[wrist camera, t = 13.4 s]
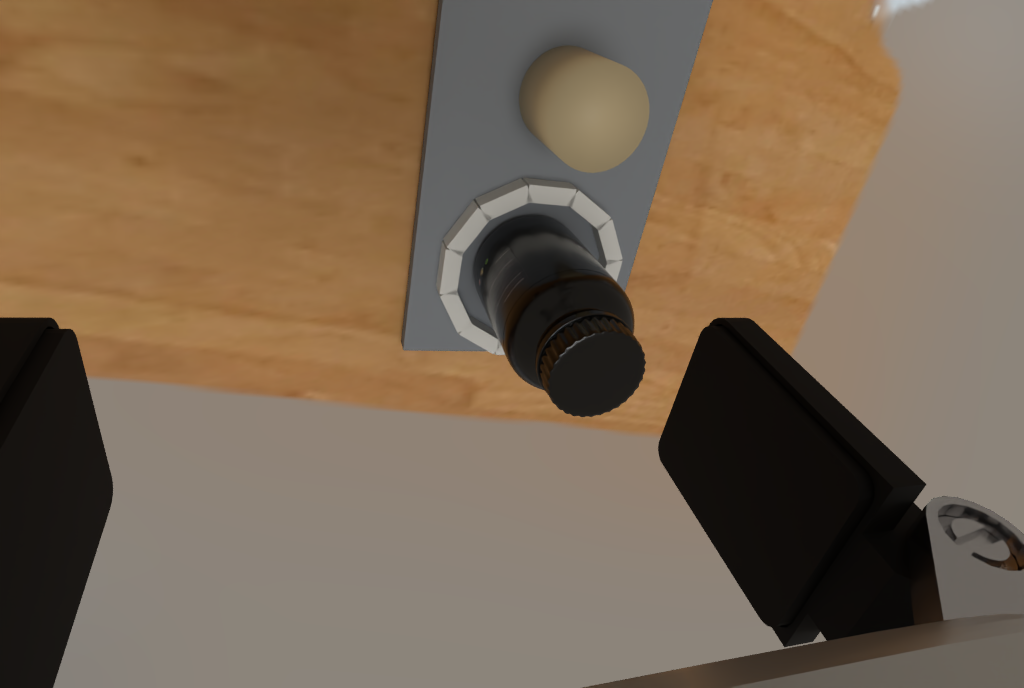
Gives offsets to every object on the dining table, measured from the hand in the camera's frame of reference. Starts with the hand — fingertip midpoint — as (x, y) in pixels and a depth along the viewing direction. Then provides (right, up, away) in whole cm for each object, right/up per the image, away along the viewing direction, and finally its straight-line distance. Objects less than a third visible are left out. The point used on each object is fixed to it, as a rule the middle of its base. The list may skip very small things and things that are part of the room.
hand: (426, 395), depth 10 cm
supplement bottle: (+2, +6, +29) cm, 29 cm away
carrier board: (+3, +10, +27) cm, 29 cm away
